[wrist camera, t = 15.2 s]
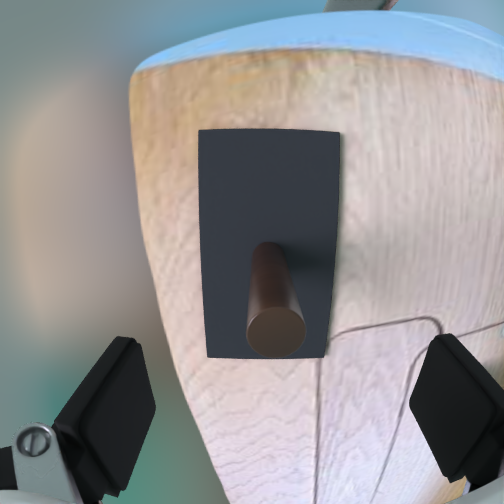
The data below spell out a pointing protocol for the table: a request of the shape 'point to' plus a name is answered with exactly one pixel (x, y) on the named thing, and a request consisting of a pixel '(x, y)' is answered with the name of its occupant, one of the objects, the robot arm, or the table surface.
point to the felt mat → (266, 227)
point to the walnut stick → (273, 305)
